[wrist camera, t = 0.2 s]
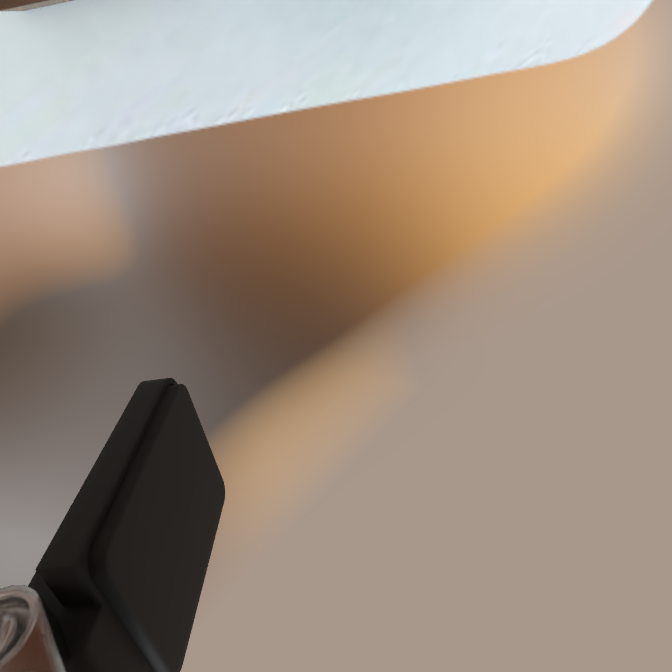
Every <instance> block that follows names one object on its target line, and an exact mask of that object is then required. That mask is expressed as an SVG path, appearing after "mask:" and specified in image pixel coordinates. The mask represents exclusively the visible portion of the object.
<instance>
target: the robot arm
mask: <svg viewBox="0 0 672 672" xmlns="http://www.w3.org/2000/svg"><path fill="white" fill-rule="evenodd" d="M224 499H225V486H224V482H223V479H222V476H221V474H220V471H219V469H218V466H217V464H216V461H215V459H214V456H213V453H212V451H211V448H210V446H209V443H208V441H207V438H206V436H205V433H204V431H203V428H202V425H201V423H200V420H199V418H198V415H197V413H196V410H195V408H194V405H193V403H192V400H191V398H190V395H189V392H188V390H187V388H186V386H184V385H183V384H177V382H176V381H175V380H174V379H172V378H166V379H158V380H150V381H143V382H141V383H140V384H139V385H138V387H137V389H136V391H135V392H134V395H133V396H132V398H131V400H130V402H129V403H128V405H127V407H126V409H125V410H124V412H123V414H122V416H121V418H120V419H119V421H118V423H117V425H116V426H115V428H114V430H113V432H112V434H111V436H110V438H109V439H108V441H107V443H106V444H105V447H104V448H103V450H102V452H101V453H100V455H99V457H98V459H97V461H96V462H95V464H94V466H93V468H92V469H91V471H90V473H89V475H88V477H87V479H86V480H85V482H84V484H83V486H82V487H81V489H80V491H79V493H78V495H77V496H76V498H75V500H74V502H73V504H72V505H71V507H70V509H69V511H68V513H67V514H66V516H65V518H64V520H63V521H62V523H61V525H60V527H59V529H58V530H57V532H56V534H55V536H54V538H53V539H52V541H51V543H50V545H49V547H48V548H47V550H46V552H45V554H44V555H43V557H42V559H41V561H40V563H39V564H38V566H37V568H36V573H35V575H34V577H33V578H32V580H31V582H30V584H29V585H28V587H27V586H25V585H11V586H7V587H4V588H0V672H180V670H181V668H182V665H183V661H184V657H185V653H186V649H187V645H188V641H189V638H190V633H191V629H192V625H193V622H194V618H195V613H196V610H197V606H198V602H199V598H200V594H201V590H202V587H203V583H204V578H205V575H206V571H207V567H208V563H209V559H210V555H211V551H212V547H213V543H214V539H215V535H216V531H217V528H218V524H219V519H220V516H221V512H222V507H223V504H224Z"/></svg>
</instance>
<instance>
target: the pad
mask: <svg viewBox="0 0 672 672" xmlns="http://www.w3.org/2000/svg"><path fill="white" fill-rule="evenodd" d="M68 1H72V0H0V11H25V10H29V9H34V8H39V7H44V6H48V5H53V4H58V3H63V2H68Z"/></svg>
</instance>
